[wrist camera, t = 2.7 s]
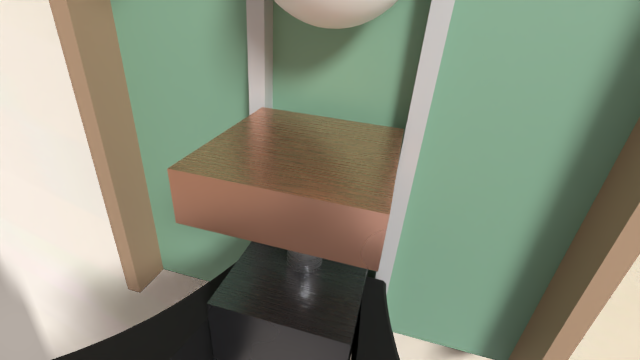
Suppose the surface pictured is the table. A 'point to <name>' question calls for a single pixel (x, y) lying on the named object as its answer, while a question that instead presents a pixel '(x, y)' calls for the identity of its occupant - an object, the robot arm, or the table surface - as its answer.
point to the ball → (335, 11)
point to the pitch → (416, 148)
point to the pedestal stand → (291, 228)
